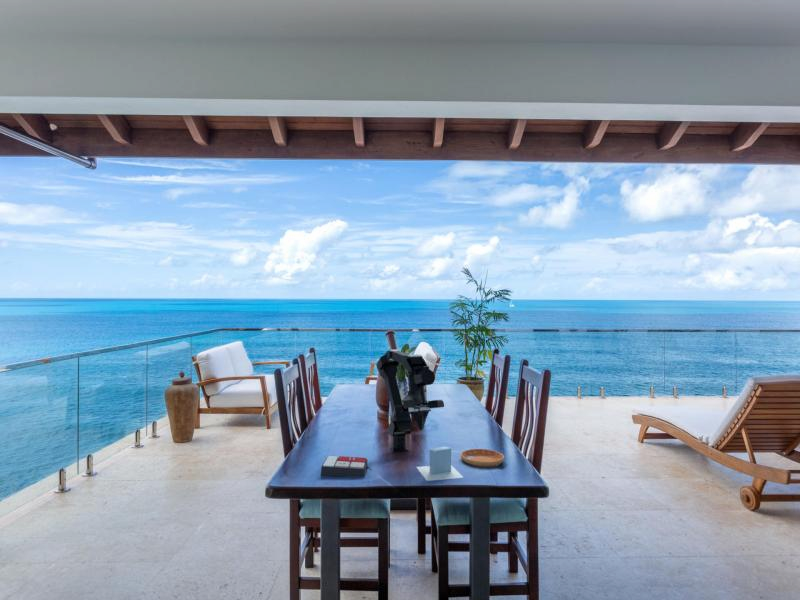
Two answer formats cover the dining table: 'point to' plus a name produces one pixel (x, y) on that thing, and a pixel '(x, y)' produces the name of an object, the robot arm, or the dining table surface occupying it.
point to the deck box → (440, 460)
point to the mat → (448, 475)
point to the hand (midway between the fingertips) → (421, 429)
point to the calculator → (344, 466)
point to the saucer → (482, 457)
